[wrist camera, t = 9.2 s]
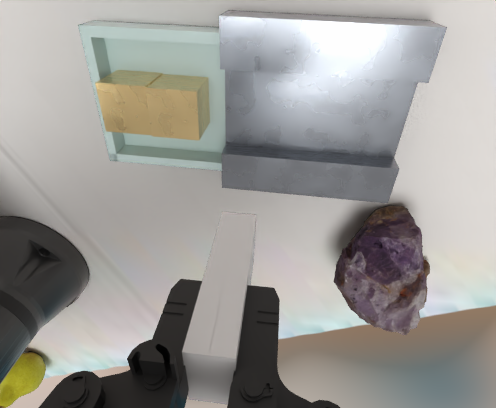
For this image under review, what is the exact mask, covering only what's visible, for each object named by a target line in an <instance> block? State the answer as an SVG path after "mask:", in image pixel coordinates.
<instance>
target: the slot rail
mask: <svg viewBox="0 0 496 408" xmlns="http://www.w3.org/2000/svg"><path fill="white" fill-rule="evenodd" d="M446 29H447V27H445V26H442V25H440V24H437V23H435V22H433V21H430V20H412V19H391V18H371V17H351V16H331V15H310V14H290V13H270V12H250V11H230V10H228V11H226V12H225V13H223V14H221V15H220V16H219V36H220V69H223V70H225V127H226V144H225V147H224V149H223V151H222V188H232V189H243V190H253V191H264V192H275V193H285V194H296V195H306V196H317V197H327V198H338V199H349V200H359V201H370V202H380V203H388V201H389V198H390V195H391V192H392V189H393V186H394V183H395V180H396V177H397V174H398V171H399V167H398V165H397V163H396V161H395V159H394V156H395V152H396V149H397V146H398V143H399V140H400V137H401V134H402V131H403V127H404V124H405V121H406V118H407V115H408V112H409V109H410V105H411V102H412V99H413V96H414V93H415V90H416V87H417V83H418V82H425V83H428V82H429V79H430V76H431V73H432V70H433V67H434V64H435V61H436V58H437V56H438V53H439V50H440V47H441V44H442V41H443V38H444V35H445V32H446Z"/></svg>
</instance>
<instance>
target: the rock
mask: <svg viewBox="0 0 496 408" xmlns="http://www.w3.org/2000/svg"><path fill="white" fill-rule="evenodd" d="M422 247H423V246H422V234H421V230H420V228H419V227H417V226H416V224H415V221H414V219H413V217H412V216H411V215H410V213H409V211H408V209H407V208H405V207H402V206H397V207H396V206H387V207H384V208H380V209H377V210H375V211H374V212H373V214H372V215H371V216H370V217H369V218H368V219H367V220H366V221H365V222H364V226H363V227H362V228H361V230H360V231H359V233H357V234H356V235H355V237H354V238H353V239H352V240H351V242H350V243H349V244H348V246H347V247H346V248H344V249H343V251H342V254H341V256H340V258H339V260H338V262H337V265H336V271H335V278H334V283H335V284H336V285H337V287H338V289H339V290H340V291H341V293H342V295H343V297H344V298H345V300H346V302H347V304H348V306H349V307H350V309H351V310H352V311H354V312H355V313H356V314H357V315H358V316H359V318H361V319H363V320H365V321H366V322H367V323H370V324H371V325H373V326H374V327H380V328H382V329H383V330H386V331H390V332H398V333H400V334H402V335H406V334H407V333H408V332H409V331H410V330H411V329H413V328H417V324H418V322H419V320H420V316H419V310H420V309H422V308H423V307H424V305H425V304H424V303H425V302H426V296H427V286H426V279H427V275H428V274H429V273H430V265H429V263H428V262H427V261H426V260H424V259H423V254H422Z"/></svg>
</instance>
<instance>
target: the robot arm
mask: <svg viewBox="0 0 496 408" xmlns="http://www.w3.org/2000/svg"><path fill="white" fill-rule="evenodd" d="M255 230H256V215H255V214H243V213H232V212H222V214H221V217H220V221H219V224H218V228H217V231H216V235H215V238H214V242H213V245H212V249H211V252H210V256H209V259H208V263H207V266H206V270H205V273H204V277H203V280H202V281H195V280H186V279H180V280H179V281H178V282H177V283H176V284H175V286H174V287H173V288H172V289H171V291H170V294H169V296H168V299H167V303H166V304H165V307H164V310H163V314H162V315H161V317H160V320H159V323H158V325H157V328H156V331H155V333H154V336H153V339H152V340H148V341H146V342H143V343H141V344H139V345H138V346H137V347H136V348H134V349H133V350H132V352H131V353H130V355H129V356H128V358H127V360H128V363H129V366H130V370H129V371H127V372H123V373H120V374H115V375H111V376H106V377H102V378H99V377H98V376H97V375H95V374H94V373H93V372H88V371H81V372H76V373H73V374H71V375H70V376H68V377H66V378H64V379H63V380H62V381H61V382H60V383H59V384H58V385H57V386H56V387H55V388H54V390H53V391H52V392H51V393H50V394H49V396H48V397H47V398H46V399H45V401H44V402H43V403H42V405H41V406H40V407H39V408H184V407H185V403H186V399H187V395H188V397H189V399H190V400H198V401H205V402H214V403H221V404H228V406H227V408H340V407H339V406H338V405H336V404H334V403H332V402H330V401H324V400H318V401H315V402H313V403H311V402H309V401H307V400H305V399H303V398H301V397H299V396H297V395H295V394H294V393H292V392H290V391H289V390H288V389H287V388H286V387H285V386H284V384H283V383H282V381H281V380H280V378H279V375H278V370H277V351H278V327H279V326H278V325H279V298H278V295H277V293H276V291H275V289H274V288H270V287H260V286H250V285H251V278H252V270H253V262H254V248H255ZM88 280H89V272H88V268H87V265H86V263H85V261H84V259H83V257H82V256H81V255H80V253H79V252H78V251H77V250H76V248H75V247H74V246H73V245H72V244H70V243H69V242H68V241H67V240H66V239H65V238H63V237H62V236H61V235H59V234H58V233H56V232H54V231H53V230H51V229H49V228H47V227H45V226H43V225H41V224H39V223H36V222H33V221H30V220H27V219H23V218H17V217H0V384H1V383H2V381H3V380H4V378H5V377H6V376H7V374H8V373H9V371H10V370H11V369H12V367H13V366H14V364H15V363H16V362H17V360H18V359H19V357H20V356H21V354H22V353H23V352H24V350H25V349H26V347H27V346H28V344H29V343H30V342H31V340H32V339H33V338H34V336H35V335H36V333H37V332H38V331H39V329H40V328H42V327H43V326H44V325H45V324H46V323H48V322H49V321H50V320H51V319H52V318H54V317H55V316H56V315H57V314H58V313H60V312H61V311H62V310H63V309H64V308H65V307H68V306H69V305H71V304H72V303H73V302H75V301H76V300H77V298H78V297H79V296H80V294H81V293H82V291H83V290H84V288H85V287H86V285H87V283H88Z"/></svg>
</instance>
